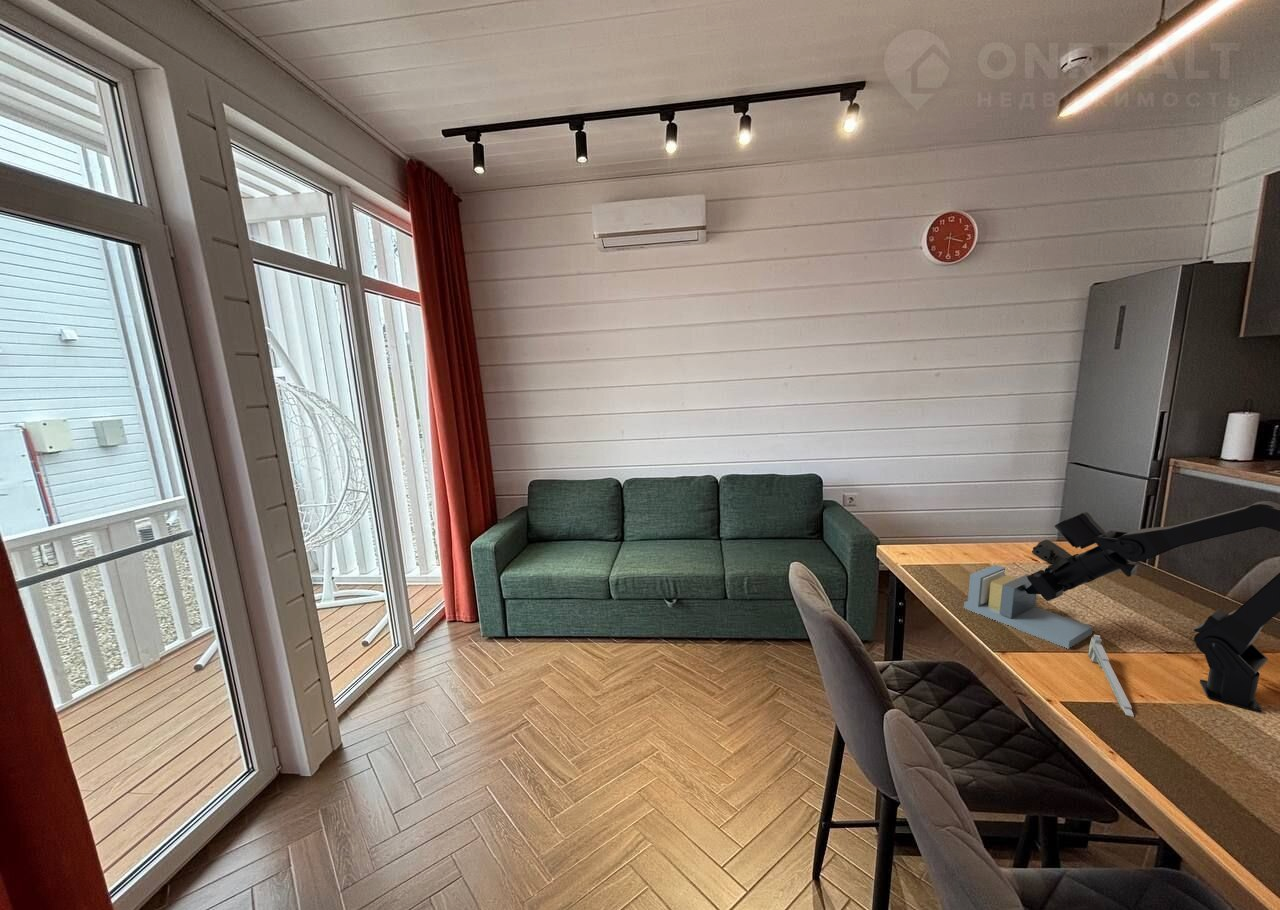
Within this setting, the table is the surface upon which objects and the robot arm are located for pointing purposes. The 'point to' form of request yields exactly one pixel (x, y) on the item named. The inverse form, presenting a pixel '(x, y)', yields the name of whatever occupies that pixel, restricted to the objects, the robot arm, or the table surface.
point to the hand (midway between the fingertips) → (1026, 591)
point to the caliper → (1108, 673)
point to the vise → (1024, 613)
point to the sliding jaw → (1016, 597)
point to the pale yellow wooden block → (997, 591)
